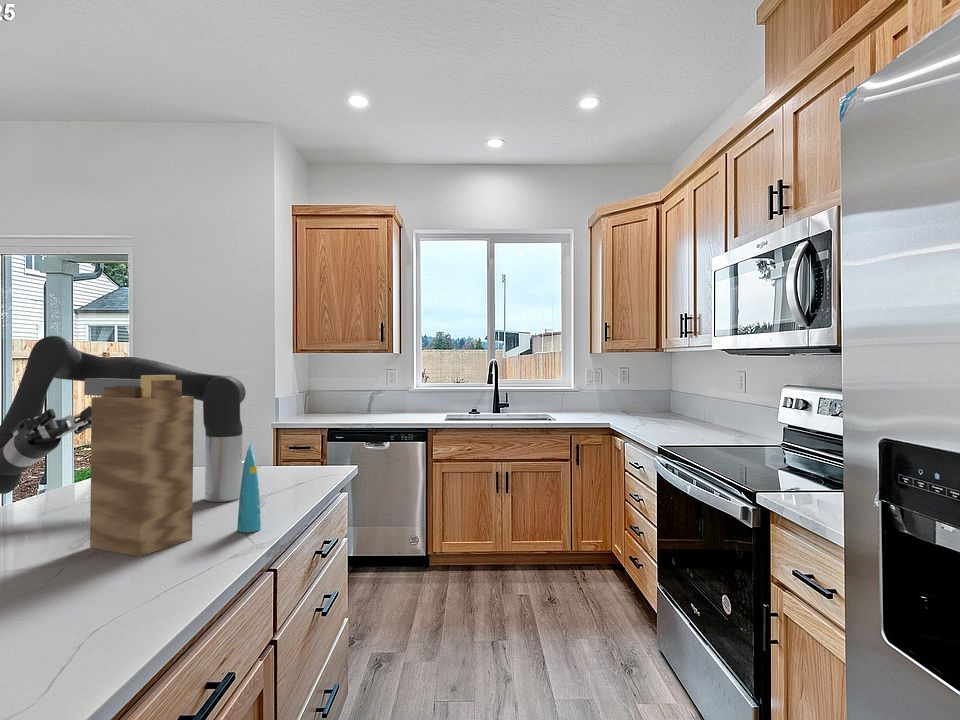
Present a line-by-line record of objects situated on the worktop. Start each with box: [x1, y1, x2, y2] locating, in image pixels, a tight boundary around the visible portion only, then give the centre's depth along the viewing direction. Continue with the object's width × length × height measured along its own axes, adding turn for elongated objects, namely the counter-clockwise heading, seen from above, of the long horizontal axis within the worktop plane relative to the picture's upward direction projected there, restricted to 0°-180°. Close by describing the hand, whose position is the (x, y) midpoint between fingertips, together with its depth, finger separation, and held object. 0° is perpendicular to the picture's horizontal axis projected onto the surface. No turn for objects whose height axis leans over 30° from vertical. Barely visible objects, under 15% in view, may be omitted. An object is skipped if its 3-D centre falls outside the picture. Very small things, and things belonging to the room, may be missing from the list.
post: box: [89, 380, 195, 557], centre depth 119 cm, size 12×14×34 cm
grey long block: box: [83, 375, 176, 398], centre depth 121 cm, size 6×21×4 cm, turn 68°
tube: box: [236, 441, 262, 533], centre depth 129 cm, size 7×5×19 cm, turn 26°
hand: (73, 411), depth 127 cm, fingers open, 8 cm apart
